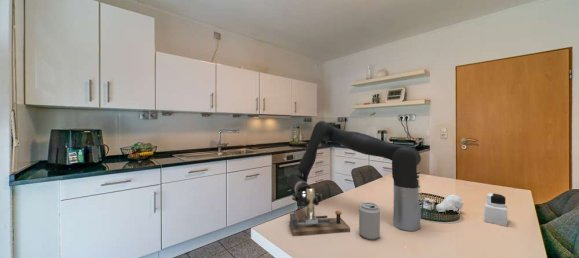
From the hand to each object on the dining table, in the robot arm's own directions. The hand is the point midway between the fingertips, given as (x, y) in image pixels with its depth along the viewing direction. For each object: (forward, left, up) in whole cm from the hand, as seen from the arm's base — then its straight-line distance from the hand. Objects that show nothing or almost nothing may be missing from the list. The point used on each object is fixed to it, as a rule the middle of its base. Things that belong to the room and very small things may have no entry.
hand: (312, 203), depth 88 cm
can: (-21, +6, -12) cm, 25 cm away
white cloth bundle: (-70, -9, -12) cm, 71 cm away
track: (-4, -3, -12) cm, 12 cm away
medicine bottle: (-82, +3, -12) cm, 83 cm away
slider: (-3, -3, -9) cm, 10 cm away
